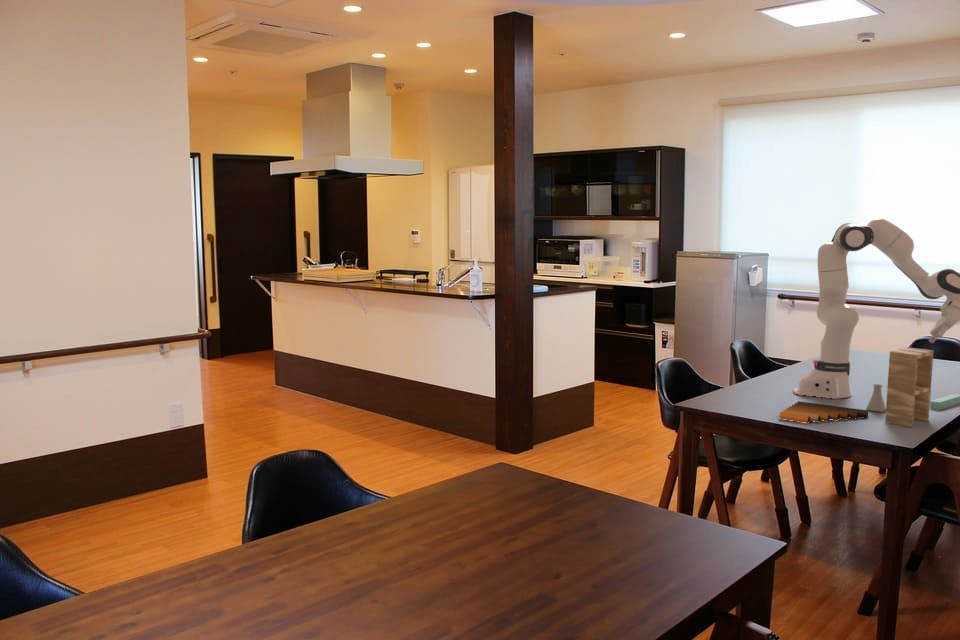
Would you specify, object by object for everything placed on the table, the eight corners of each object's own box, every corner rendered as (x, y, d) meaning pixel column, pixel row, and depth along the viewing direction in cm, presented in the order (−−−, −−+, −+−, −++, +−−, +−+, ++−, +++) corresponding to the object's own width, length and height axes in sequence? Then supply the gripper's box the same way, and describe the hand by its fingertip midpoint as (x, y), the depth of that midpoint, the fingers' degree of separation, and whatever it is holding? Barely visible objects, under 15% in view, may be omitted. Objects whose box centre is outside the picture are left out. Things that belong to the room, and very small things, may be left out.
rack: (902, 415, 297) (907, 347, 294) (928, 420, 290) (933, 350, 287) (885, 422, 288) (889, 351, 284) (911, 427, 281) (916, 354, 278)
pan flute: (868, 418, 296) (798, 408, 311) (868, 409, 295) (799, 400, 310) (852, 432, 276) (778, 421, 291) (852, 422, 276) (779, 412, 291)
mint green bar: (952, 401, 321) (953, 394, 320) (961, 403, 318) (962, 395, 318) (929, 408, 309) (930, 400, 308) (938, 410, 306) (939, 402, 306)
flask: (862, 410, 306) (864, 384, 305) (869, 407, 311) (871, 382, 310) (882, 413, 301) (884, 387, 300) (889, 410, 306) (891, 384, 305)
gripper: (937, 314, 324) (919, 341, 323) (954, 299, 305) (936, 328, 303) (952, 322, 322) (934, 349, 321) (971, 307, 303) (952, 336, 301)
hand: (935, 339), depth 312 cm, fingers open, 8 cm apart
